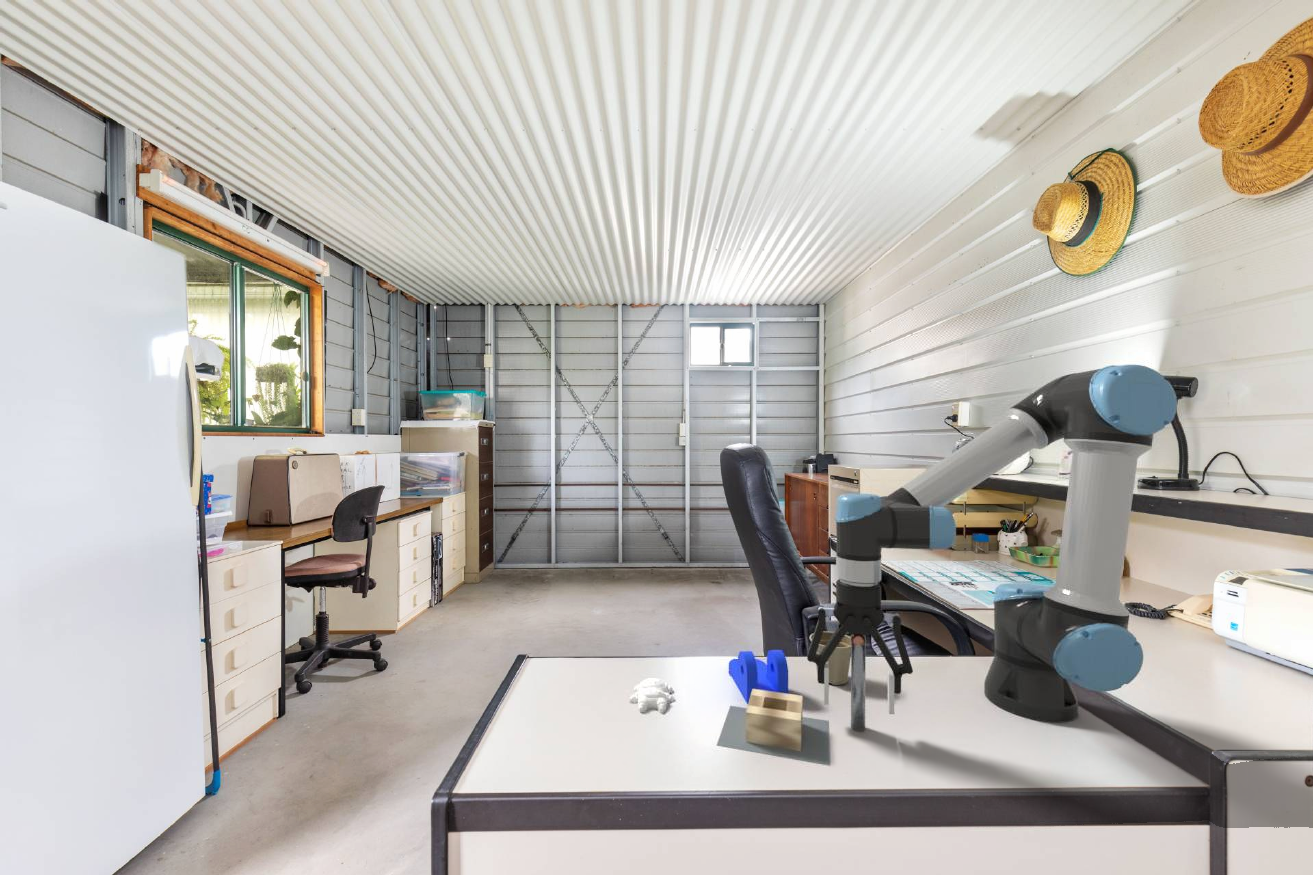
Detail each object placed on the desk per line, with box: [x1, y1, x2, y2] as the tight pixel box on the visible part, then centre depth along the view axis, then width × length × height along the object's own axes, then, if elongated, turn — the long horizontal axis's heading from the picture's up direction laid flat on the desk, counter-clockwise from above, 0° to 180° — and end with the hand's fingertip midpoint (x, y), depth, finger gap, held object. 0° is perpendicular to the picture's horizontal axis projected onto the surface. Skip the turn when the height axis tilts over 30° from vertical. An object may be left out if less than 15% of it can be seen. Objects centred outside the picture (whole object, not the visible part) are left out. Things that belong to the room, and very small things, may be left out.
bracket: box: [728, 649, 789, 705], centre depth 112 cm, size 18×8×9 cm, turn 6°
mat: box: [716, 705, 831, 766], centre depth 93 cm, size 18×14×1 cm
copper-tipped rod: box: [850, 634, 867, 733], centre depth 94 cm, size 3×3×17 cm
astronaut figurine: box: [628, 677, 675, 715], centre depth 106 cm, size 9×12×3 cm
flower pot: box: [809, 630, 851, 686], centre depth 115 cm, size 9×9×9 cm
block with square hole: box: [746, 689, 804, 751], centre depth 93 cm, size 9×9×5 cm
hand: (858, 705), depth 94 cm, fingers open, 10 cm apart
